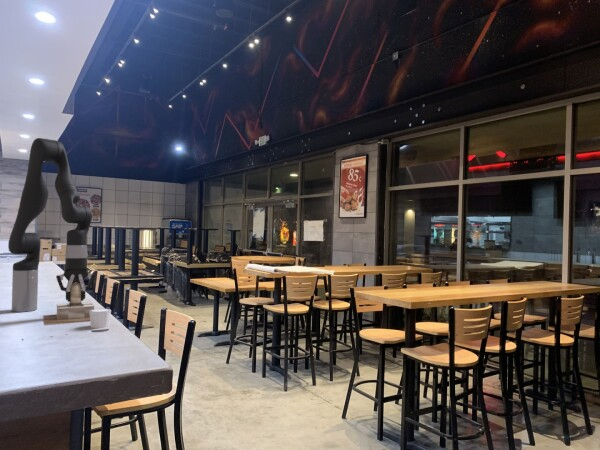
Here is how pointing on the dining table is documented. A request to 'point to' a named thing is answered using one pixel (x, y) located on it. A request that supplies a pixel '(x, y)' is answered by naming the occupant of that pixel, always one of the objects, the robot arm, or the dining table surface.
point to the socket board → (54, 320)
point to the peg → (75, 294)
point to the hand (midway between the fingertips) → (75, 300)
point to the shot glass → (100, 319)
